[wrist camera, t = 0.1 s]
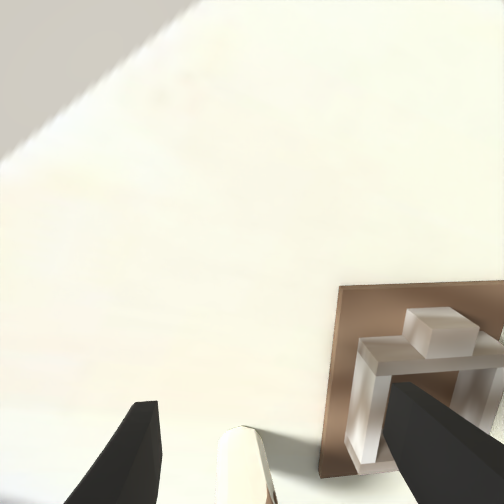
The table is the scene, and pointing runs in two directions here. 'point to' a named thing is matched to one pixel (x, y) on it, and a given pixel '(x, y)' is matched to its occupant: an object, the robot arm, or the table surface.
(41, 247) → the table surface
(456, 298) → the pocket plate
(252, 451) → the milkshake
